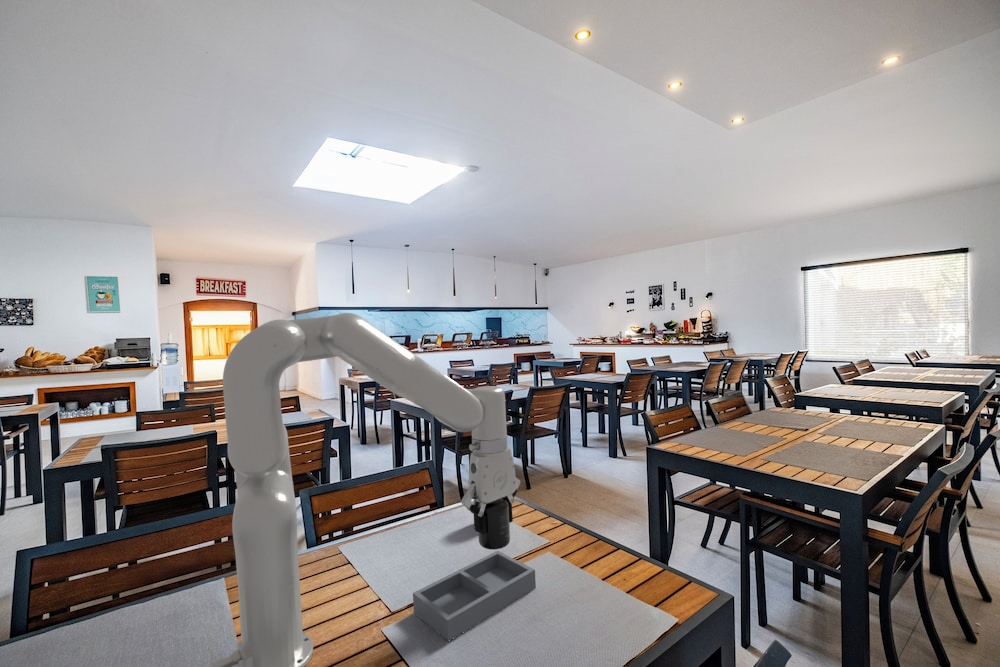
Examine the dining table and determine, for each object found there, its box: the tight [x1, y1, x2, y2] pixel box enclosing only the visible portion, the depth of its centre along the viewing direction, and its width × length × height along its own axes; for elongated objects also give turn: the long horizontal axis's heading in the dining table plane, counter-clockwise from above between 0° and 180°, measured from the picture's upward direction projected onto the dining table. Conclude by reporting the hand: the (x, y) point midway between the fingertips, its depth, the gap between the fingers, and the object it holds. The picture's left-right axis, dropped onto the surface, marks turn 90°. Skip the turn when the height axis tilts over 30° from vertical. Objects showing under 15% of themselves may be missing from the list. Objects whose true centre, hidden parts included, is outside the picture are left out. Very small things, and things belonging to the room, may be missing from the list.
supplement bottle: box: [477, 498, 511, 550], centre depth 98 cm, size 7×7×12 cm
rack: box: [412, 550, 537, 642], centre depth 95 cm, size 23×12×4 cm, turn 132°
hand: (494, 525), depth 98 cm, fingers closed on supplement bottle, 6 cm apart
